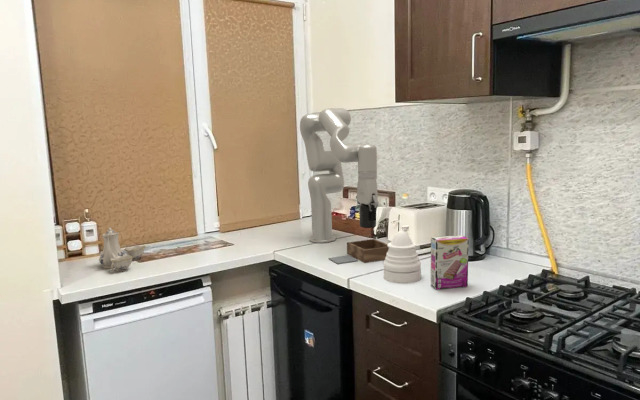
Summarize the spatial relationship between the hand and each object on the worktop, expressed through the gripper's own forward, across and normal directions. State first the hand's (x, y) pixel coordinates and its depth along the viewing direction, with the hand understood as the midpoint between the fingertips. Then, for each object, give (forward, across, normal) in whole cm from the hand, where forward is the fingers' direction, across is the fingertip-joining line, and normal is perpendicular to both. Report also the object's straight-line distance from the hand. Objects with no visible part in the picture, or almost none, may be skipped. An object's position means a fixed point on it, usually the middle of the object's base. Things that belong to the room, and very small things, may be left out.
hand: (367, 218), depth 199 cm
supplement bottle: (+4, 0, 0) cm, 4 cm away
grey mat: (+16, +1, -12) cm, 20 cm away
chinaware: (+17, -39, -95) cm, 104 cm away
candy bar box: (+15, +48, +5) cm, 50 cm away
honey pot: (+15, +32, -3) cm, 36 cm away
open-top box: (+16, +1, 0) cm, 16 cm away
